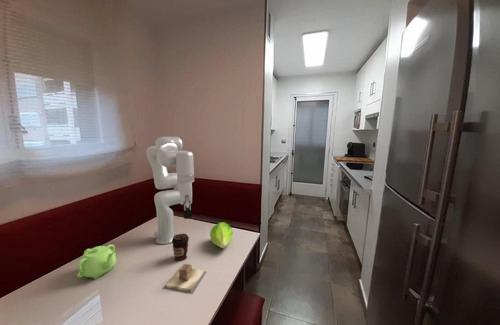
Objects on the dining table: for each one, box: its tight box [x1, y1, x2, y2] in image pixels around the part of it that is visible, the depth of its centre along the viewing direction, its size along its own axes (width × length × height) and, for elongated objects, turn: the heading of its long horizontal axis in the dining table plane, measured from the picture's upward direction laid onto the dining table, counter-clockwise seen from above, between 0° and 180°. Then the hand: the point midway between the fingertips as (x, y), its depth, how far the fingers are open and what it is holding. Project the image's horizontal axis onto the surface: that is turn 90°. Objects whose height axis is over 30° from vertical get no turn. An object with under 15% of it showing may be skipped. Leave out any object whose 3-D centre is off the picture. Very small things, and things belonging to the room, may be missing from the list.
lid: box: [165, 263, 205, 292], centre depth 89 cm, size 12×12×6 cm
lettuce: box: [209, 221, 234, 249], centre depth 118 cm, size 14×20×12 cm
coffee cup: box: [172, 233, 190, 262], centre depth 105 cm, size 9×8×13 cm
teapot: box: [76, 244, 117, 280], centre depth 95 cm, size 16×14×13 cm
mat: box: [162, 270, 207, 295], centre depth 90 cm, size 14×14×1 cm
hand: (187, 214), depth 92 cm, fingers open, 9 cm apart
